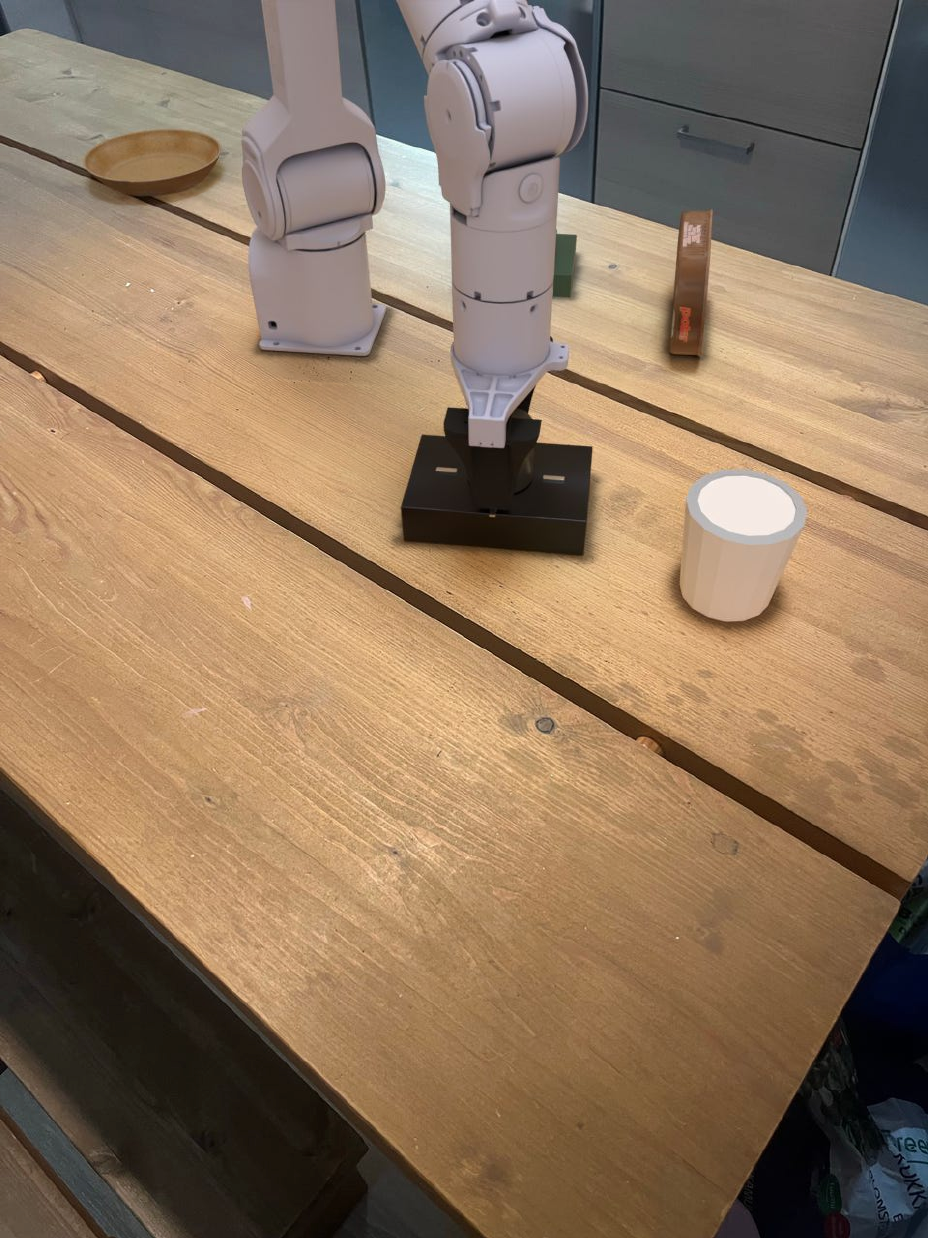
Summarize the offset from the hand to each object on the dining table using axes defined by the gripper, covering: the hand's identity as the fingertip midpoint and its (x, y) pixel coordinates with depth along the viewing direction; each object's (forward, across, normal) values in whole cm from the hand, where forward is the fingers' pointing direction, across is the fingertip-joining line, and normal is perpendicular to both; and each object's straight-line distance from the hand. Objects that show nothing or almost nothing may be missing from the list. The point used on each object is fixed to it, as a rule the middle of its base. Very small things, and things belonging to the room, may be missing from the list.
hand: (499, 471), depth 63 cm
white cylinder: (+3, -6, -15) cm, 17 cm away
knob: (0, 0, 0) cm, 0 cm away
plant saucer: (+3, +52, +44) cm, 68 cm away
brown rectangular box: (+3, +26, -13) cm, 29 cm away
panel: (+3, 0, 0) cm, 3 cm away
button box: (+3, +34, +2) cm, 34 cm away
